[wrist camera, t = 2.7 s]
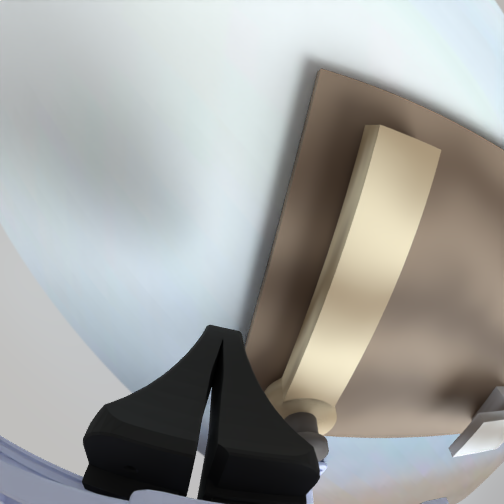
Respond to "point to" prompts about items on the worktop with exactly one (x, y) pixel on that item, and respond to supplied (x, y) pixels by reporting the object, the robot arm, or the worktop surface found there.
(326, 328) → the link
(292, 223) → the base board
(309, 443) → the robot arm
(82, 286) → the worktop surface
